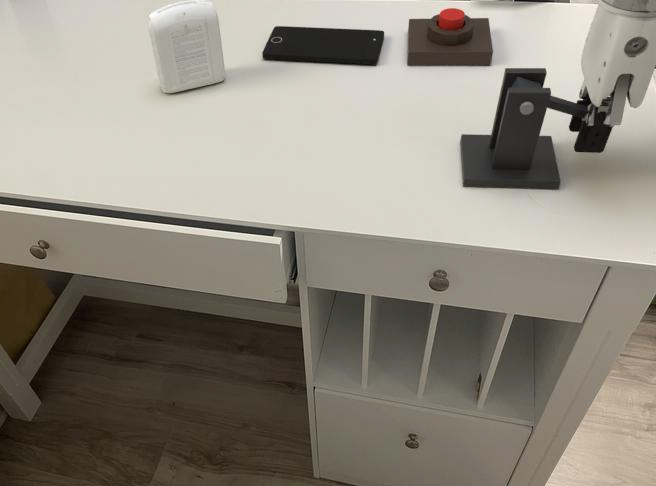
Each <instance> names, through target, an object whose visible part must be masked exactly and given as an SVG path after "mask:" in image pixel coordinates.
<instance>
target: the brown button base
mask: <svg viewBox="0 0 656 486" xmlns="http://www.w3.org/2000/svg"><path fill="white" fill-rule="evenodd" d="M439 15H440V13H438V14H435V15H434V16H432V17H431V18H408V26H407V54H406V55H407V56H406V58H407V59H406V64H407V66H491V65H492V60H493V54H494V49H493V40H492V33H491V27H490V26H491V25H490V19H489V17H470V16H468V15H467V14H465V17H464V23H463V27H462V28H461V29H458V30H445V29H441V28H440V27H439V26H438V23H439Z"/></svg>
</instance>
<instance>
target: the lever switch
mask: <svg viewBox="0 0 656 486" xmlns="http://www.w3.org/2000/svg"><path fill="white" fill-rule="evenodd" d="M511 88H541V85H540V83H537V82H533V81H530V80H527V79H524V78H520V77H517V78H516V80H515V82H514V83H513V85H512V86H511ZM590 107H591V104H590V105H589V106H584V105H581V104H577V102H575V101H570V100H567V99H564V98H561V97H557V96H554V95H551V96H550V99H549V103H548V106H547V109H549V110H553V111H555V112H556V111H557V112H560V113H563V114H567V115H570V116H572V115H573V116H576V117H580V118H582V122H583V121H587V117H588V113H589V110H590ZM607 110H608V106H599V109H598V112H597V113H599V112H600V111H606V112H607Z"/></svg>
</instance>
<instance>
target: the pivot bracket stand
mask: <svg viewBox="0 0 656 486" xmlns="http://www.w3.org/2000/svg"><path fill="white" fill-rule="evenodd" d="M517 77H520V78H524V79H527V80H530V81H533V82H537V83H540V85H541V88H511V86H512V85H513V83H514V82H515V80H516V78H517ZM546 77H547V68H545V67H505V68H504V72H503V77H502V82H501V87H500V91H499V92H500V93H499V96H498V101H497V105H496V110H495V115H494V120H493V124H492V128H491V132H490V133H491V134H467V133H465V134H463V133H461V134H460V141H459V143H460V160H461V175H462V176H461V177H462V187H467V188H469V187H470V188H499V189H500V188H501V189H531V190H532V189H533V190H535V189H536V190H559V189H560V185H561V182H562V181H561V177H560V171H559V167H558V162H557V158H556V153H555V152H556V151H555V147H554V143H553V138H552V135H541V131H542V127H543V124H544V120H545V117H546V114H547V110H548V108H547V106H548V103H549V99H550V96H552V89H551V88H550V87H544V85H545V81H546Z"/></svg>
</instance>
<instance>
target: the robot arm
mask: <svg viewBox="0 0 656 486" xmlns="http://www.w3.org/2000/svg"><path fill="white" fill-rule="evenodd" d="M595 2H596V3H597V7H596V10H595V12H594V15H593V18H592V20H591V23H590V26H589V29H588V32H587V35H586V39H585V41H584V44H583V49H582V52H581V57H580V66H581V72H582V76H583V82H582V83H581V87H580V89H579V93H578V98H579V99H577V100H576V103H577V104H581V105H584V106H589V105H590V104H591V107H590V110H589V113H588V117H587V121H583V122H582V118H580V117H576V116H573V115H571V119H570V122H569V125H568V130H569V132H573V133H575V132H576V133H577V136H576V139H575V142H574V145H573V151H574V152H575V153H587V154H589V153H590V154H602V153H603V152H604V151H605V149H606V145H607V143H608V141H609V138H610V136H611V134H612V130H613V128H614V127H615V126H621V124H622V122H623V117H624V112H625V106H626V100H627V101H628V104H629V107H630V108H634V109H637V108H639V107H641V105H642V104H643V102H644V99H645V98H646V94H647V91H648V89H649V86H650V83H651V81H652V77H653V75H654V72H655V69H656V0H595ZM599 106H608V110H607V112H606V111H600V112H599V113H597V112H598V109H599Z"/></svg>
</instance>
